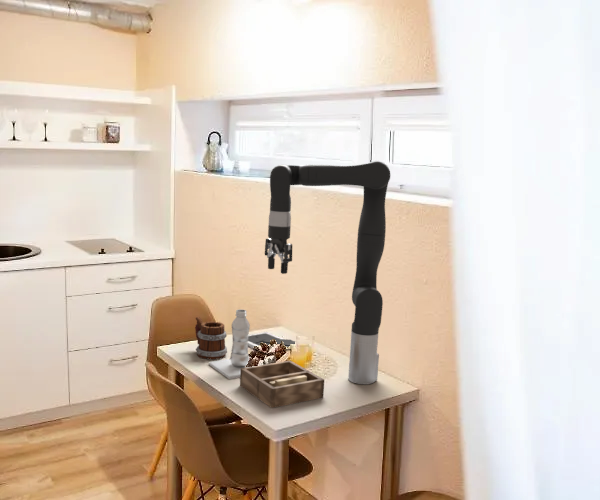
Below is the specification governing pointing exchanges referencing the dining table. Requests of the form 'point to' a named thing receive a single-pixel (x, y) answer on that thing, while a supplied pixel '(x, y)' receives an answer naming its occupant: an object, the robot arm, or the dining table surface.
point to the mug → (210, 339)
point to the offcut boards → (288, 381)
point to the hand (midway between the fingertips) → (277, 271)
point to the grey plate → (226, 368)
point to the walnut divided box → (259, 386)
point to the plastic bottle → (240, 339)
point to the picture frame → (266, 339)
